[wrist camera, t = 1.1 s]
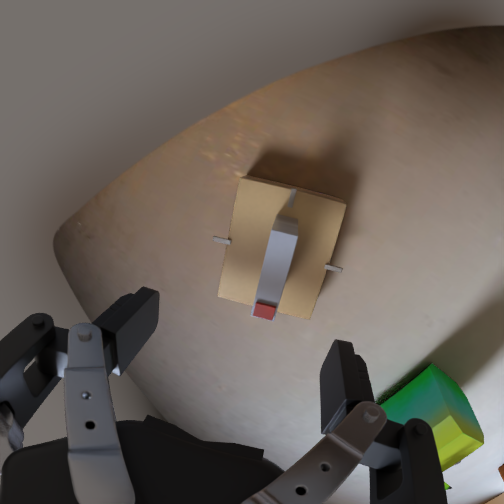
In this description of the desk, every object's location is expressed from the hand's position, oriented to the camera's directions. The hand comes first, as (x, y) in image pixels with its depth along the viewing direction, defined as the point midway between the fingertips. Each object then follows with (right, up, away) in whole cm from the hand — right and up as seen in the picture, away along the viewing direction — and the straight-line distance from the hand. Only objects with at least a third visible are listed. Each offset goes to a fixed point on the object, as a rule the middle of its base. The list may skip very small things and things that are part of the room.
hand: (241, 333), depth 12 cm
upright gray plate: (+2, +3, +10) cm, 10 cm away
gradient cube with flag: (+21, -15, +16) cm, 30 cm away
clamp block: (+3, +4, +12) cm, 13 cm away
